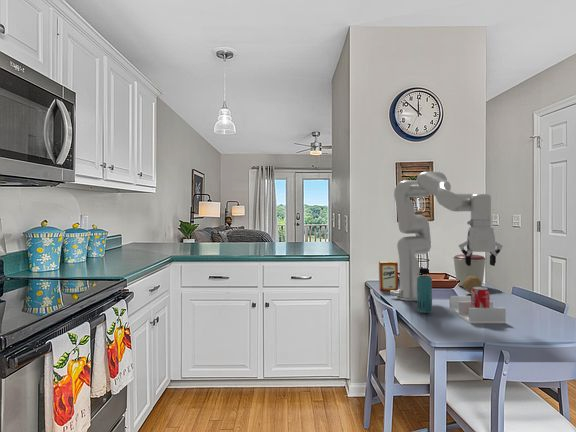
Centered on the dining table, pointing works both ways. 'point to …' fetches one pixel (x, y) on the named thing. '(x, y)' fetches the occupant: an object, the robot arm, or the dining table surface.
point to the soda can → (480, 297)
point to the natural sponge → (471, 283)
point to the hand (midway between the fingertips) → (480, 265)
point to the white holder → (476, 311)
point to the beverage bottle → (424, 291)
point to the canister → (469, 267)
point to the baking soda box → (388, 275)
